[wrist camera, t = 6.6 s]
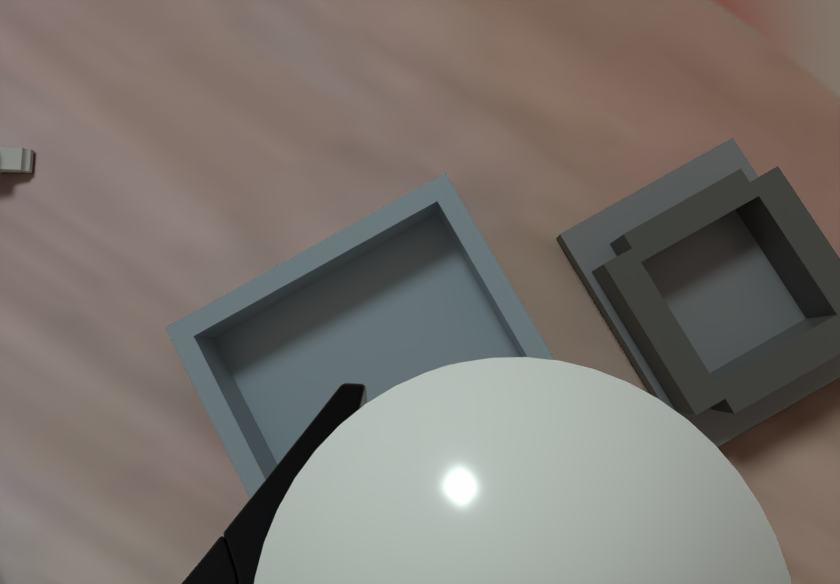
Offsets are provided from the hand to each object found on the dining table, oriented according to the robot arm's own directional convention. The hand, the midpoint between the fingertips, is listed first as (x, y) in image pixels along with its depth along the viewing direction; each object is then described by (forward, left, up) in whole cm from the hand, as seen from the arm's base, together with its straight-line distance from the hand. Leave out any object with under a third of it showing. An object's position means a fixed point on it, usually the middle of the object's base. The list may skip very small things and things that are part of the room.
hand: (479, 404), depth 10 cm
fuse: (-1, +1, -6) cm, 6 cm away
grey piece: (-2, -10, -13) cm, 17 cm away
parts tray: (-1, +3, -13) cm, 14 cm away
